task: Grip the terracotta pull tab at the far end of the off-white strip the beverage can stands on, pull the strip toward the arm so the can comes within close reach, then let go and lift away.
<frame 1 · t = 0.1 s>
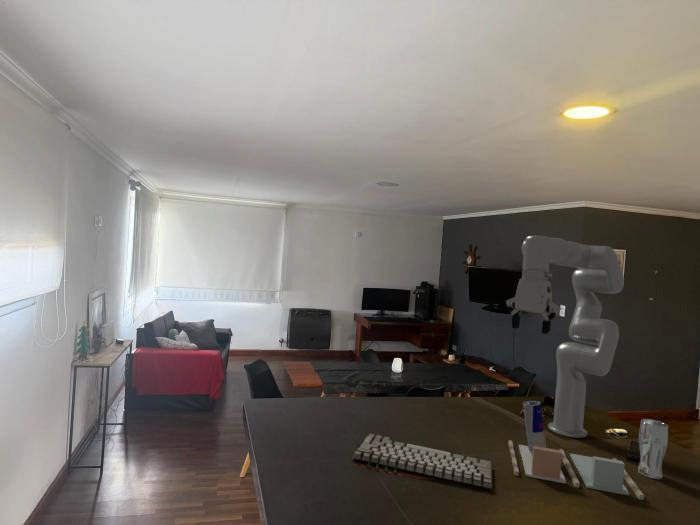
hand: (530, 330, 144), 37 cm above the table, tool pointing down, fingers open, 9 cm apart
strip a: (541, 450, 135), point 4 cm above the table, slide at 0.0 cm, touching beverage can
mechanical keyboard: (422, 467, 128), on the table
beverage can: (538, 453, 141), point 1 cm above the table, touching strip a
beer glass: (649, 475, 134), on the table
lane frame: (568, 468, 133), on the table
strip b: (598, 460, 131), point 4 cm above the table, slide at 0.0 cm
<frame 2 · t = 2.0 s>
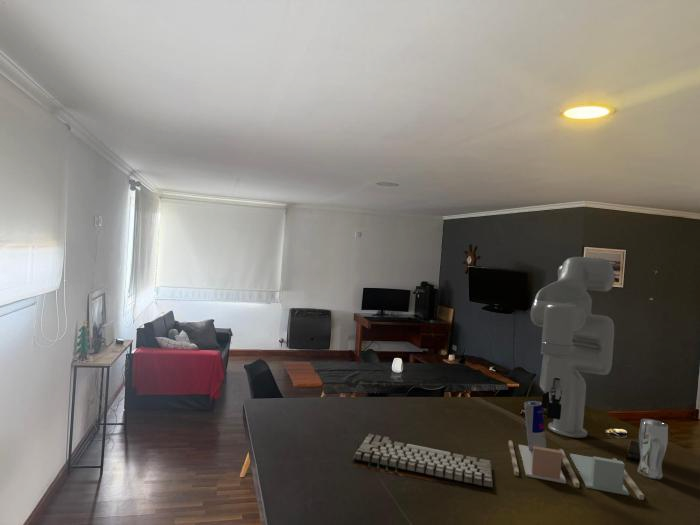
hand: (550, 413, 126), 18 cm above the table, tool pointing down, fingers open, 9 cm apart
nothing on the table moved.
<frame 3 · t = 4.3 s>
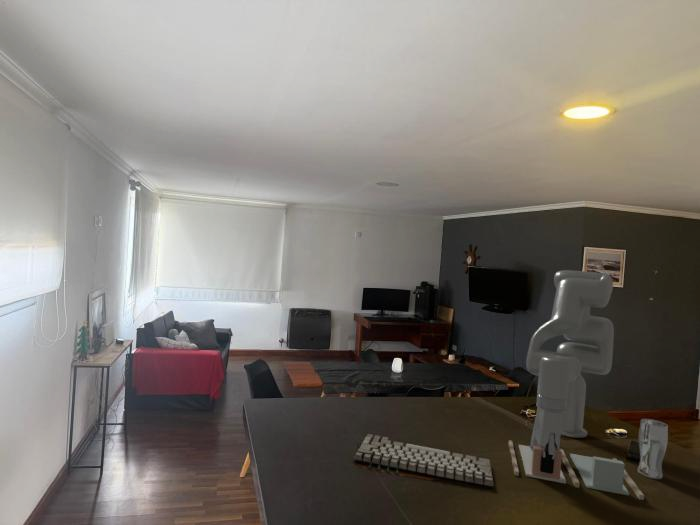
hand: (545, 469, 126), 2 cm above the table, tool pointing down, fingers closed on strip a, 2 cm apart
strip a: (541, 450, 135), point 4 cm above the table, slide at 0.0 cm, touching beverage can, gripper
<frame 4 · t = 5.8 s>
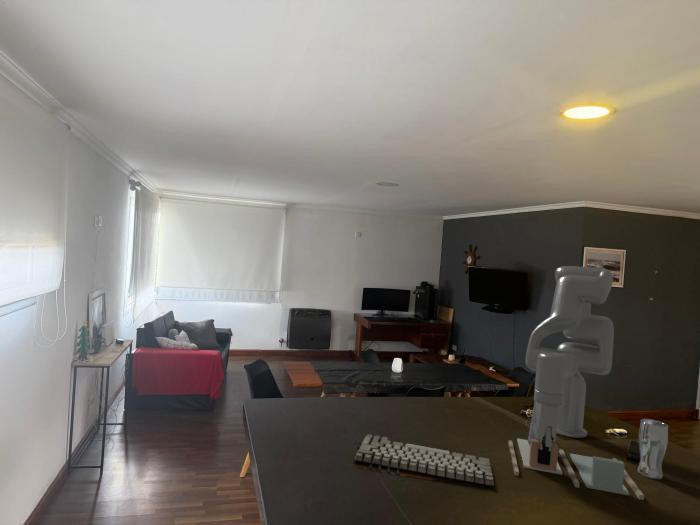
hand: (542, 461, 132), 2 cm above the table, tool pointing down, fingers closed on strip a, 2 cm apart
strip a: (538, 443, 141), point 4 cm above the table, slide at 5.6 cm, touching beverage can, gripper
beverage can: (535, 447, 146), point 1 cm above the table, touching strip a
everything else where it was.
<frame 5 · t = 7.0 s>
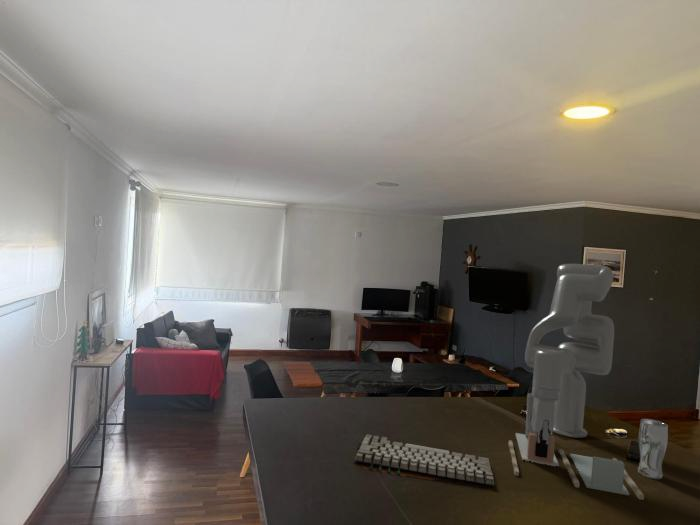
hand: (540, 454, 137), 2 cm above the table, tool pointing down, fingers closed on strip a, 2 cm apart
strip a: (536, 437, 146), point 4 cm above the table, slide at 10.8 cm, touching beverage can, gripper
beverage can: (533, 441, 151), point 1 cm above the table, touching strip a
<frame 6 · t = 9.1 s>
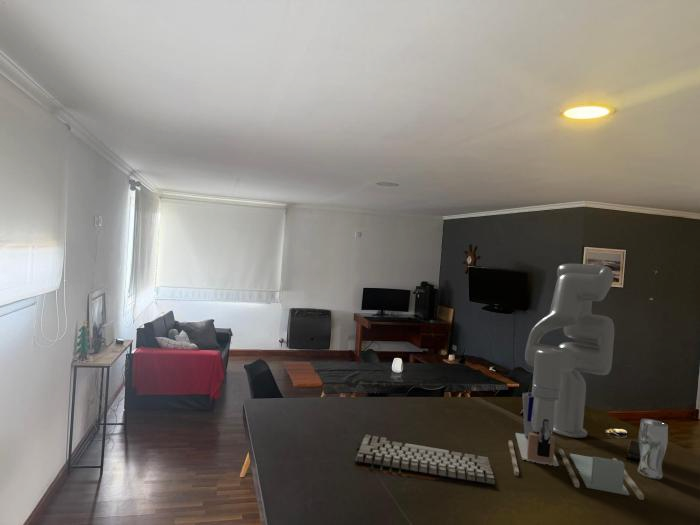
hand: (540, 449, 137), 3 cm above the table, tool pointing down, fingers open, 9 cm apart
strip a: (536, 437, 146), point 4 cm above the table, slide at 11.0 cm, touching beverage can
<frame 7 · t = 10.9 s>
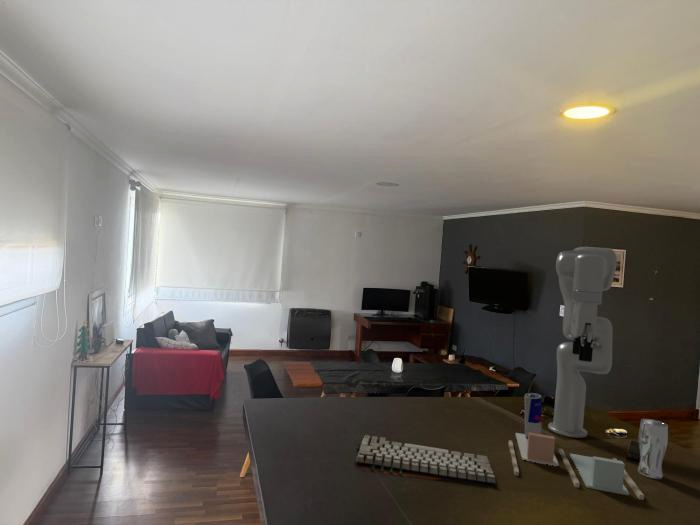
hand: (581, 357, 133), 32 cm above the table, tool pointing down, fingers open, 9 cm apart
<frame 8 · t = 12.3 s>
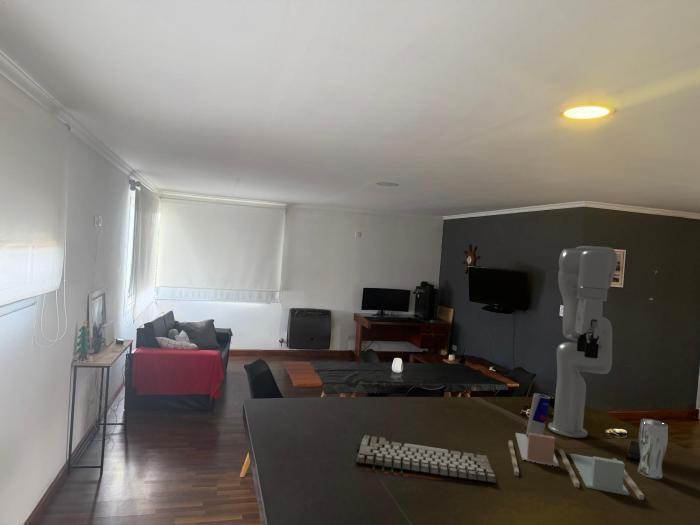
hand: (586, 354, 132), 33 cm above the table, tool pointing down, fingers open, 9 cm apart
at the end: strip a slide at 11.0 cm; beverage can inside the target area (0.1 cm from its centre), point 0.5 cm above the table; beverage can tilted 1° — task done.
